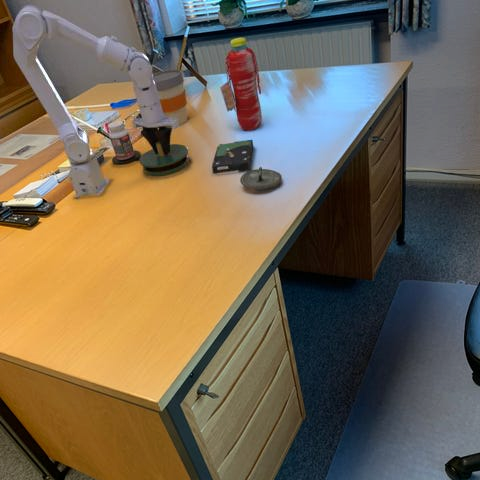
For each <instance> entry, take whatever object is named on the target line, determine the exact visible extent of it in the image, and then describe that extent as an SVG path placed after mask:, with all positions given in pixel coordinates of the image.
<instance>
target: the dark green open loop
mask: <svg viewBox="0 0 480 480" xmlns="http://www.w3.org/2000/svg"><path fill="white" fill-rule="evenodd" d="M183 159H184V161H183V162H182V163H181V164H180V165H177V166H176V167H173V168H171V169H166V170H162V171H161V170H159V171H152V170H148V168H149V167H144V166H142V169H143V170H142V171H143V173H144V174H145V175H146V176H148V177H154V178H160V177H167V176H171V175H175V174H177V173H179V172H180V171H183V170H185V169H186V168H187V166H189V164H190V158H189V155H188V154H187V155H186V156H185V157H184V158H183Z"/></svg>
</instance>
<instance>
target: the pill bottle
mask: <svg viewBox="0 0 480 480" xmlns="http://www.w3.org/2000/svg"><path fill="white" fill-rule="evenodd" d="M107 128H108V131H110V132H109V135H108V137H109V140H110V142H111V145H112V149H113V152H114V154H115V156H116V157H117V159H119V160H125V159H129V158H131V157H133V156H134V154H135V153H134V150H135V148H134V146H133V143H132V140H131V136H130V134H129V131H128V130H127V128H125V123H124V121H122V120H117V121H112V122H111V123H109V124H108V125H107Z"/></svg>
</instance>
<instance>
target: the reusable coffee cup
mask: <svg viewBox="0 0 480 480" xmlns="http://www.w3.org/2000/svg"><path fill="white" fill-rule="evenodd" d="M152 75H153V81H154V82H155V85H156V89H157V93H158V96H159V100H160V104H161V108H162V112H163V115H165V117H167V118H171V119H177V120H178V124H179V126H180V125H182V124H184V123H186V122H187V121H188V113H187V104H188V101H187V94H186V93H187V92H186V89H185V86H184V82H185V79H184V76H183V73H182V71H181V70H180V69H167V70H162V71H158V72H155V73H152Z"/></svg>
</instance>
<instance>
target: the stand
mask: <svg viewBox="0 0 480 480" xmlns="http://www.w3.org/2000/svg"><path fill="white" fill-rule="evenodd" d="M134 153H135V154H134V156H133V157H131V158H129V159H125V160H119V159H117V157H116V155H114V156H113V157H112V158H111V162H112V164H113V165H115V166H126V165H129V164H132V163H135V162H139V159H140V157H141V156H142V153H141V151H139V150H135V149H134Z"/></svg>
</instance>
